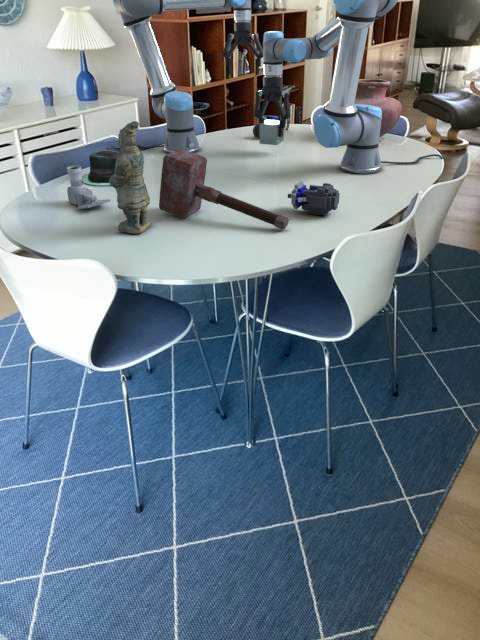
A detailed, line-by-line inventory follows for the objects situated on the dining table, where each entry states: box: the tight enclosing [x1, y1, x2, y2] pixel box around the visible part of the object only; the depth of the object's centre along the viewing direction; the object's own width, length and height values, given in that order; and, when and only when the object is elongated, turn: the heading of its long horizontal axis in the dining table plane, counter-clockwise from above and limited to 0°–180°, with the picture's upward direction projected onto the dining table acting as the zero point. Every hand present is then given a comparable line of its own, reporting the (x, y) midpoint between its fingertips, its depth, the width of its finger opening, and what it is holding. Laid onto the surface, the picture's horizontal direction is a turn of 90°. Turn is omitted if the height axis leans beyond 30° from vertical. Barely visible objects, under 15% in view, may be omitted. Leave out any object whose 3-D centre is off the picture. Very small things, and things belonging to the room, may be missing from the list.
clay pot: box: [354, 78, 403, 138], centre depth 248 cm, size 30×30×25 cm
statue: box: [109, 120, 153, 235], centre depth 154 cm, size 11×9×30 cm
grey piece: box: [66, 165, 112, 210], centre depth 178 cm, size 9×12×15 cm
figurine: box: [252, 123, 290, 139], centre depth 265 cm, size 13×8×25 cm
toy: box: [287, 180, 341, 216], centre depth 168 cm, size 9×9×15 cm
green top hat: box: [82, 150, 119, 186], centre depth 207 cm, size 15×19×20 cm
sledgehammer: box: [158, 149, 290, 231], centre depth 163 cm, size 17×10×40 cm
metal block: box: [259, 119, 285, 146], centre depth 228 cm, size 8×8×8 cm
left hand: (243, 74), depth 253 cm, fingers open, 13 cm apart
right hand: (271, 135), depth 229 cm, fingers closed on metal block, 8 cm apart
